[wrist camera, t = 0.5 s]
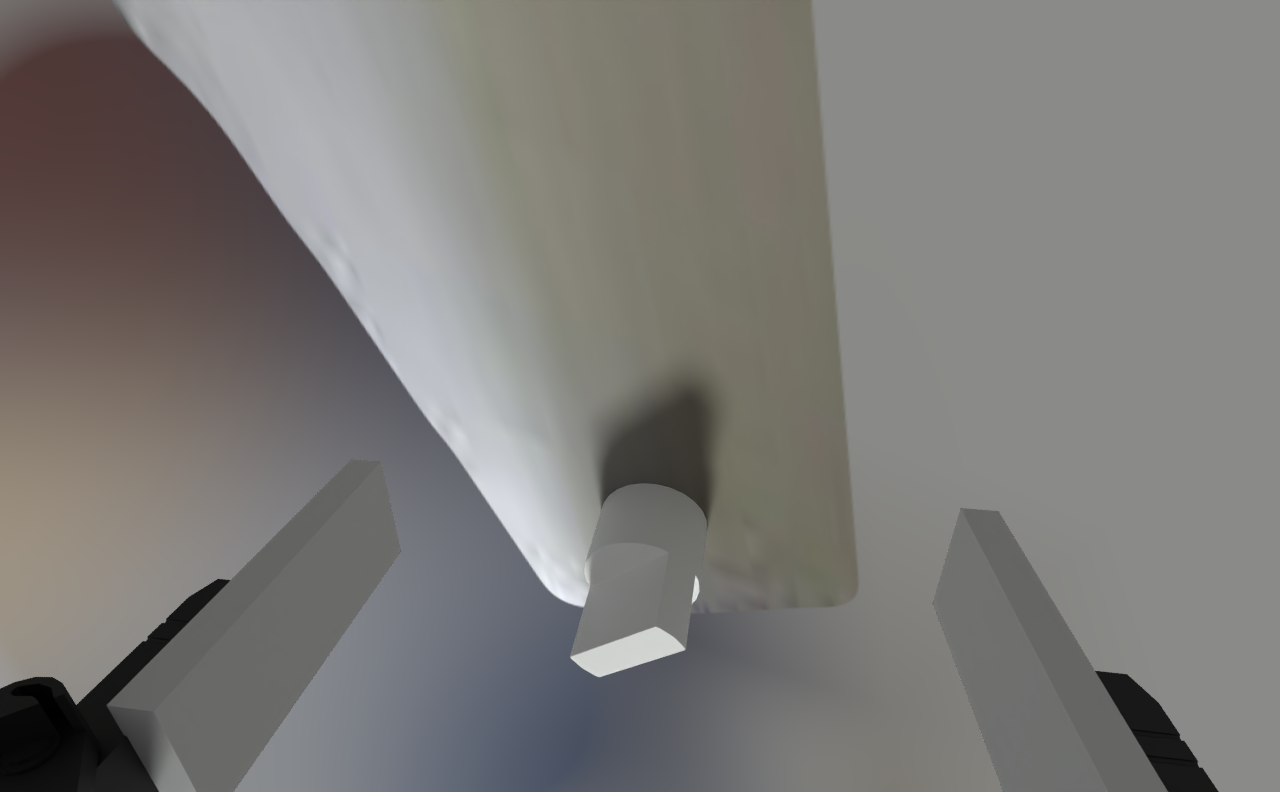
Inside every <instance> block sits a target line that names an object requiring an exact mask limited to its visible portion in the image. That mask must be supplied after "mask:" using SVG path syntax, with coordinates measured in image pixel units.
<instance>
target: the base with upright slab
mask: <svg viewBox="0 0 1280 792" xmlns="http://www.w3.org/2000/svg"><path fill="white" fill-rule="evenodd" d="M706 535H707V520H706V518H705V515H704V513H703V511H702V510H701V508H700V507H699V506H698V505H697V504H696V503H695V501H693V500H692V499H690V498H689V497H688V496H686V495H685V494H683V493H681V492H679V491H677V490H675V489H672V488H670V487H666V486H662V485H658V484H646V483H640V484H632V485H627V486H625V487H622V488H619V489H617V490H615V491H614V492H613V493H611V494H610V495H609V496H608V497H607V499H606V500H605V502H604V503H603V506H602V509H601V513H600V516H599V519H598V523H597V526H596V529H595V533H594V536H593V539H592V543H591V546H590V549H589V552H588V556H587V559H586V563H585V568H584V573H585V577H586V581H587V582H588V584H589V585H590V589H589V593H588V596H587V600H586V603H585V607H584V610H583V614H582V618H581V621H580V624H579V628H578V631H577V635H576V638H575V642H574V645H573V649H572V652H571V656H570V657H571V659H573V661H575V662H576V663H577V664H578V665H579V666H580V667H582V668H583V669H585V670H586V671H588V672H590V673H592V674H593V675H595V676H597V677H601V676H605V675H608V674H611V673H614V672H617V671H620V670H623V669H626V668H630V667H633V666H636V665H639V664H642V663H646V662H649V661H652V660H655V659H658V658H661V657H664V656H668V655H671V654H674V653H677V652H680V651H683V650H686V642H687V634H688V627H689V620H690V613H691V605H692V603H693V602H694V601H695V600H696V598H697V596H698V593H699V590H700V582H701V574H702V566H703V559H704V551H705V543H706Z"/></svg>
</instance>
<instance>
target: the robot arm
mask: <svg viewBox="0 0 1280 792" xmlns="http://www.w3.org/2000/svg"><path fill="white" fill-rule="evenodd" d="M400 552H401V549H400V545H399V540H398V535H397V531H396V526H395V522H394V517H393V513H392V509H391V503H390V499H389V494H388V490H387V485H386V481H385V477H384V472H383V467H382V463H381V462H380V461H367V460H354V459H351V460H350V461H349V462H348V463H347V464H346V465H345V466H344V467H343V468H342V469H341V470H340V471H339V472H338V473H337V474H336V475H335V476H334V477H333V478H332V479H331V480H330V481H329V482H328V483H327V484H326V485H325V486H324V487H323V488H322V489H321V490H320V491H319V492H318V493H317V494H316V495H315V496H314V497H313V498H312V499H311V500H310V501H309V502H308V503H307V504H306V505H305V506H304V507H303V508H302V509H301V510H300V511H299V512H298V513H297V514H296V515H295V516H294V517H293V518H292V519H291V520H290V521H289V522H288V523H287V524H286V525H285V526H284V527H283V528H282V529H281V530H280V531H279V532H278V533H277V534H276V535H275V536H274V537H273V538H272V539H271V540H270V541H269V542H268V544H266V545H265V547H263V548H262V550H260V552H258V553H257V554H256V555H255V556H254V557H253V559H251V561H249V562H248V563H247V564H246V565H245V567H244V568H243V569H242V570H241V571H240V572H239V573H238V574H237V575H236V576H235V577H234V578H233V579H232V580H223V579H217V580H216V581H214V582H212V583H211V584H209V585H208V586H206V587H204V588H203V589H201V590H200V591H198V592H196V593H195V594H193V595H191V596H190V597H189V598H188V599H186V600H185V601H184V602H183V603H182V604H181V605H180V606H179V607H178V608H177V609H176V610H175V611H174V612H173V613H172V614H171V615H170V616H169V617H168V618H167V619H166V622H165V623H161V625H159V626H158V628H156V629H155V630H154V631H153V632H152V633H151V634H150V635H149V636H148V640H147V641H146V642H145V641H143V642H142V643H141V644H139V645H138V647H136V648H135V649H134V650H133V652H131V653H130V654H129V655H128V656H127V657H126V658H125V659H124V660H123V661H122V662H121V663H120V664H119V665H118V666H117V667H116V668H115V669H113V670H112V671H111V672H110V674H108V675H107V676H106V677H105V678H104V679H103V680H102V681H101V682H100V683H99V684H98V685H97V686H96V687H95V688H94V689H93V690H92V691H91V692H89V693H88V694H87V695H86V696H85V697H84V699H82V700H81V701H80V702H79V703H78V704H77V705H76V704H75V703H74V701H73V699H72V698H71V697H70V695H69V693H68V691H67V690H66V688H65V687H64V685H63V683H61V682H60V681H58V680H56V679H55V678H53V677H34V678H30V679H26V680H22V681H18V682H14V683H12V684H10V685H8V686H5V687H3V688H1V689H0V792H233V791H234V790H235V789H236V788H237V786H238V784H239V783H240V782H241V780H242V779H243V777H244V776H245V775H246V773H247V772H248V770H249V769H250V767H251V766H252V765H253V763H254V762H255V760H256V759H257V757H258V756H259V754H260V753H261V751H262V750H263V749H264V747H265V746H266V744H267V743H268V742H269V740H270V738H271V737H272V736H273V734H274V733H275V732H276V730H277V729H278V727H279V726H280V724H281V723H282V722H283V720H284V719H285V717H286V716H287V714H288V713H289V712H290V710H291V709H292V707H293V706H294V704H295V703H296V701H297V700H298V699H299V697H300V696H301V694H302V693H303V691H304V690H305V688H306V687H307V686H308V684H309V683H310V681H311V680H312V679H313V677H314V676H315V674H316V673H317V671H318V670H319V668H320V667H321V666H322V664H323V663H324V661H325V660H326V658H327V657H328V656H329V654H330V652H331V651H332V650H333V648H334V647H335V645H336V644H337V643H338V641H339V640H340V638H341V637H342V635H343V634H344V633H345V631H346V630H347V628H348V627H349V625H350V624H351V623H352V621H353V619H354V618H355V617H356V615H357V614H358V612H359V611H360V610H361V608H362V607H363V605H364V604H365V602H366V601H367V600H368V598H369V597H370V595H371V594H372V592H373V591H374V590H375V588H376V587H377V585H378V584H379V582H380V581H381V580H382V578H383V577H384V575H385V574H386V572H387V571H388V569H389V568H390V567H391V565H392V564H393V562H394V561H395V559H396V558H397V557H398V555H399V554H400ZM933 605H934V608H935V611H936V614H937V616H938V619H939V622H940V624H941V627H942V630H943V632H944V635H945V638H946V640H947V643H948V646H949V649H950V651H951V654H952V657H953V659H954V662H955V664H956V667H957V670H958V673H959V675H960V678H961V681H962V683H963V686H964V689H965V691H966V694H967V696H968V699H969V702H970V705H971V707H972V710H973V712H974V715H975V718H976V720H977V723H978V726H979V729H980V731H981V734H982V737H983V739H984V742H985V744H986V747H987V750H988V753H989V755H990V758H991V761H992V763H993V766H994V769H995V771H996V774H997V776H998V779H999V782H1000V785H1001V787H1002V790H1003V792H1218V790H1217V789H1216V788H1215V786H1214V784H1213V783H1212V781H1211V780H1210V779H1209V777H1208V775H1207V774H1206V773H1205V771H1204V770H1203V768H1199V766H1198V764H1197V762H1198V761H1197V759H1196V758H1195V756H1194V755H1193V753H1192V752H1191V750H1190V749H1189V747H1188V746H1187V744H1186V743H1185V742H1184V741H1181V739H1180V734H1179V733H1178V731H1177V729H1176V728H1175V727H1174V725H1173V724H1172V722H1171V721H1170V719H1169V718H1168V716H1167V715H1166V713H1165V712H1164V710H1163V709H1162V707H1161V706H1160V704H1159V703H1158V702H1157V701H1156V700H1155V699H1154V698H1153V697H1151V696H1150V695H1149V694H1148V693H1147V692H1146V691H1145V690H1144V689H1143V688H1142V687H1140V686H1139V685H1138V684H1137V683H1136V682H1135V681H1134V680H1133V679H1131V678H1130V677H1129V676H1128V675H1127V674H1119V673H1109V672H1100V671H1095V670H1094V669H1093V667H1092V665H1091V664H1090V662H1089V660H1088V659H1087V657H1086V656H1085V654H1084V652H1083V650H1082V649H1081V647H1080V646H1079V644H1078V642H1077V640H1076V639H1075V637H1074V635H1073V634H1072V632H1071V630H1070V629H1069V627H1068V626H1067V624H1066V622H1065V621H1064V619H1063V617H1062V616H1061V614H1060V612H1059V611H1058V609H1057V607H1056V606H1055V604H1054V602H1053V601H1052V599H1051V597H1050V596H1049V594H1048V592H1047V591H1046V589H1045V587H1044V586H1043V584H1042V583H1041V581H1040V579H1039V577H1038V576H1037V574H1036V573H1035V571H1034V569H1033V568H1032V566H1031V564H1030V563H1029V561H1028V559H1027V558H1026V556H1025V554H1024V553H1023V551H1022V550H1021V548H1020V546H1019V544H1018V543H1017V541H1016V539H1015V538H1014V536H1013V534H1012V533H1011V531H1010V529H1009V528H1008V526H1007V525H1006V523H1005V521H1004V520H1003V518H1002V516H1001V515H1000V513H999V512H998V511H988V510H977V509H964V508H961V509H960V512H959V516H958V519H957V522H956V526H955V529H954V533H953V536H952V539H951V543H950V546H949V549H948V553H947V556H946V560H945V563H944V566H943V570H942V573H941V577H940V580H939V583H938V587H937V590H936V594H935V597H934V601H933Z"/></svg>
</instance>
